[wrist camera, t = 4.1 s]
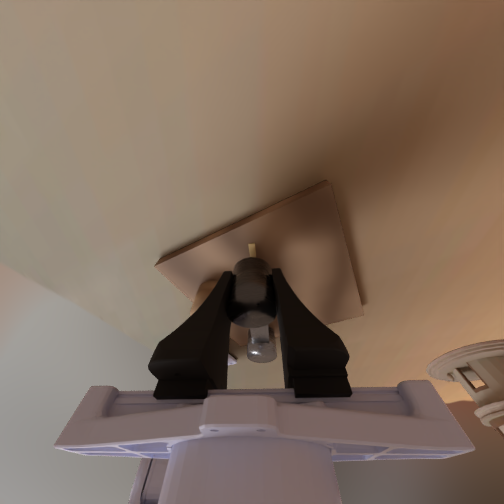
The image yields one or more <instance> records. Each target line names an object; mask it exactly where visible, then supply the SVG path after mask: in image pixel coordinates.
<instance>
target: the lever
mask: <svg viewBox="0 0 504 504" xmlns="http://www.w3.org/2000/svg"><path fill="white" fill-rule="evenodd" d="M276 314H277V312H276V303H275V295H274V287H273V280H272V269H271V267H270V265H269V264H268V263H267V262H266V261H265V260H263V259H260V258H257V257H248V258H244V259H242V260H240V261H238V262H237V263H236V265H235V266H234V269H233V277H232V283H231V289H230V295H229V301H228V308H227V316H228V318H229V319H230V321H231V322H233V323H234V324H236V325H238V326H241V327H244V328H250V329H249V330H248V345H247V357H248V359H249V360H251V361H253V362H257V363H267V362H271V361H273V360H275V359H276V357H277V352H276V342H275V332H274V329H273V328H271V327H269V326H268V324H270V323H272V322H273V321H274V319H275V318H276Z"/></svg>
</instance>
